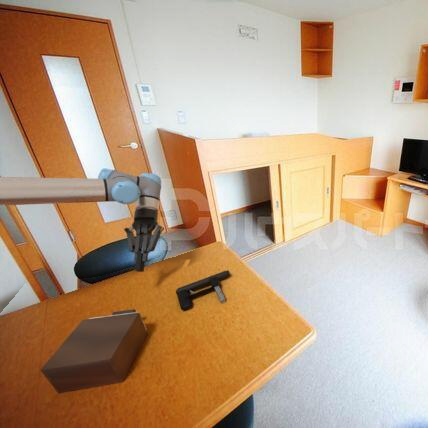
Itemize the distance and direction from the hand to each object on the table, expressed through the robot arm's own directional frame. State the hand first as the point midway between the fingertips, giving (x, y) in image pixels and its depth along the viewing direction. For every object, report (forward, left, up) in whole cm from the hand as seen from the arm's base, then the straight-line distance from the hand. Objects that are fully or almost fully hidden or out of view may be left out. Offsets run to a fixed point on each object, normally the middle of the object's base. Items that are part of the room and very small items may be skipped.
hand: (139, 271), depth 86 cm
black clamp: (+23, 0, -11) cm, 25 cm away
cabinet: (+5, -26, -11) cm, 29 cm away
